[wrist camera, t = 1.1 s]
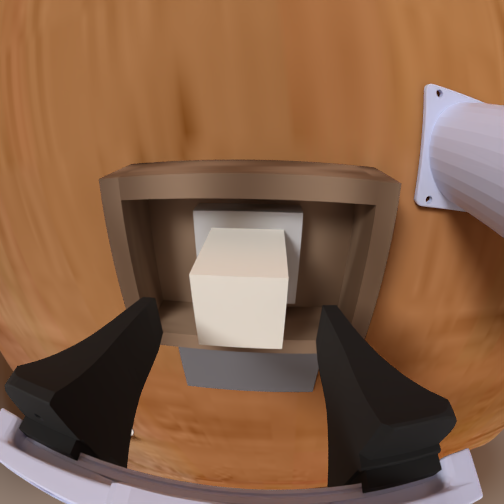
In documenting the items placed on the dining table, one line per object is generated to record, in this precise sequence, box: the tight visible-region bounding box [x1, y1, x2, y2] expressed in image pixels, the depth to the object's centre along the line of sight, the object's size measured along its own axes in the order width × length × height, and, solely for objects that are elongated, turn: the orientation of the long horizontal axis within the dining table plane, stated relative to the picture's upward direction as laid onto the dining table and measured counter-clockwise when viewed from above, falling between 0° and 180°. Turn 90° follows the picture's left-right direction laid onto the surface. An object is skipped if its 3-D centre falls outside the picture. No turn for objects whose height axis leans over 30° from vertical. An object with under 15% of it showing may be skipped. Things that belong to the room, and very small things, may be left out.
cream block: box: [189, 228, 289, 349], centre depth 15 cm, size 4×4×5 cm
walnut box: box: [99, 160, 401, 354], centre depth 17 cm, size 15×11×4 cm
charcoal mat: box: [179, 347, 319, 392], centre depth 23 cm, size 12×8×1 cm, turn 90°
